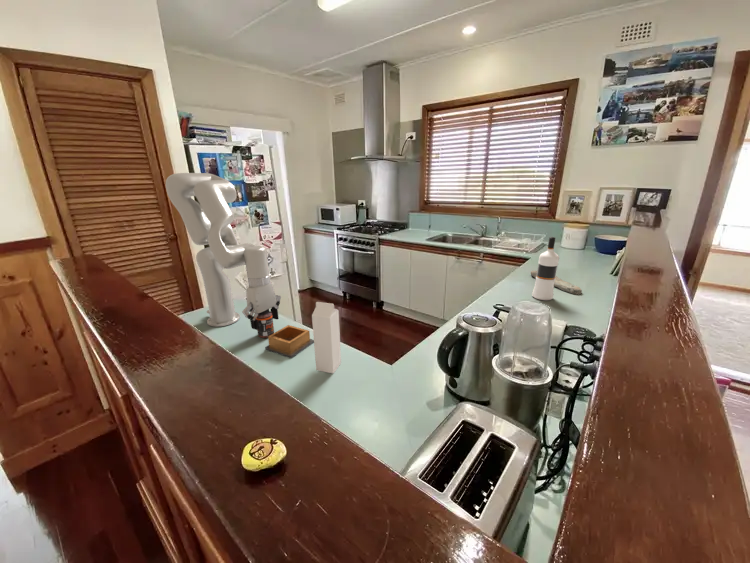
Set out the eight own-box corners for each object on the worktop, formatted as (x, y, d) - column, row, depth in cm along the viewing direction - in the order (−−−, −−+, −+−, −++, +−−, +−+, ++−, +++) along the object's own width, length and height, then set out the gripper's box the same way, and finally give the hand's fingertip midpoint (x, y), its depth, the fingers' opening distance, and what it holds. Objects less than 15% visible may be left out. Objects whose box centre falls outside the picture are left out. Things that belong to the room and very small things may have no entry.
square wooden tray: (265, 349, 109) (263, 337, 108) (289, 335, 119) (288, 323, 118) (291, 358, 104) (289, 345, 102) (314, 342, 114) (313, 330, 112)
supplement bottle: (269, 339, 116) (265, 311, 113) (255, 338, 117) (251, 310, 114) (277, 332, 122) (274, 305, 118) (263, 330, 123) (259, 304, 119)
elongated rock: (569, 298, 156) (586, 297, 158) (572, 288, 154) (589, 288, 157) (524, 274, 188) (539, 274, 190) (526, 266, 186) (541, 266, 188)
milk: (324, 360, 103) (320, 298, 96) (341, 363, 101) (338, 300, 94) (315, 370, 97) (310, 305, 90) (333, 374, 95) (329, 307, 89)
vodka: (528, 294, 158) (537, 235, 148) (546, 294, 158) (556, 235, 148) (537, 301, 149) (548, 239, 140) (556, 300, 149) (568, 238, 140)
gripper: (269, 273, 121) (275, 313, 127) (231, 286, 107) (239, 331, 112) (284, 275, 118) (289, 316, 123) (246, 289, 104) (254, 335, 109)
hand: (265, 323), depth 118 cm, fingers open, 9 cm apart
